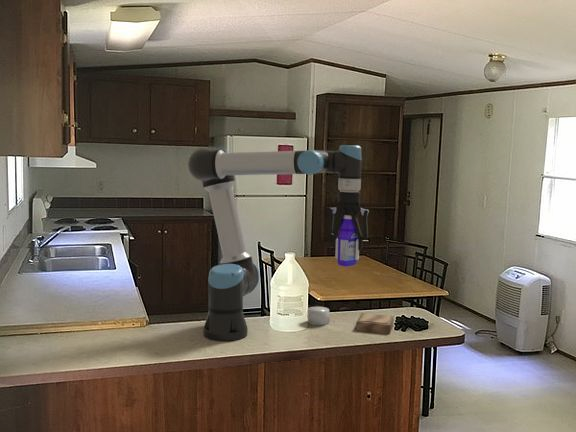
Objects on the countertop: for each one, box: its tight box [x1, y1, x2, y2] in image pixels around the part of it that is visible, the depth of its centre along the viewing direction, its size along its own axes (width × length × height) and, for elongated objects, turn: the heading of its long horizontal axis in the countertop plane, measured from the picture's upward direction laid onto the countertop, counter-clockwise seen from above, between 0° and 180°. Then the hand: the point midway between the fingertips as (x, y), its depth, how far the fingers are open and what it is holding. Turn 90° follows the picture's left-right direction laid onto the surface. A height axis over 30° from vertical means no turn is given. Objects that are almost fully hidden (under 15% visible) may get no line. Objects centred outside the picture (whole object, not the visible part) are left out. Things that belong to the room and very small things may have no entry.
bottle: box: [337, 215, 358, 267], centre depth 205 cm, size 7×6×17 cm
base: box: [355, 312, 395, 334], centre depth 219 cm, size 12×12×3 cm
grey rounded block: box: [307, 306, 330, 326], centre depth 223 cm, size 8×8×5 cm
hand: (347, 258), depth 206 cm, fingers closed on bottle, 6 cm apart
